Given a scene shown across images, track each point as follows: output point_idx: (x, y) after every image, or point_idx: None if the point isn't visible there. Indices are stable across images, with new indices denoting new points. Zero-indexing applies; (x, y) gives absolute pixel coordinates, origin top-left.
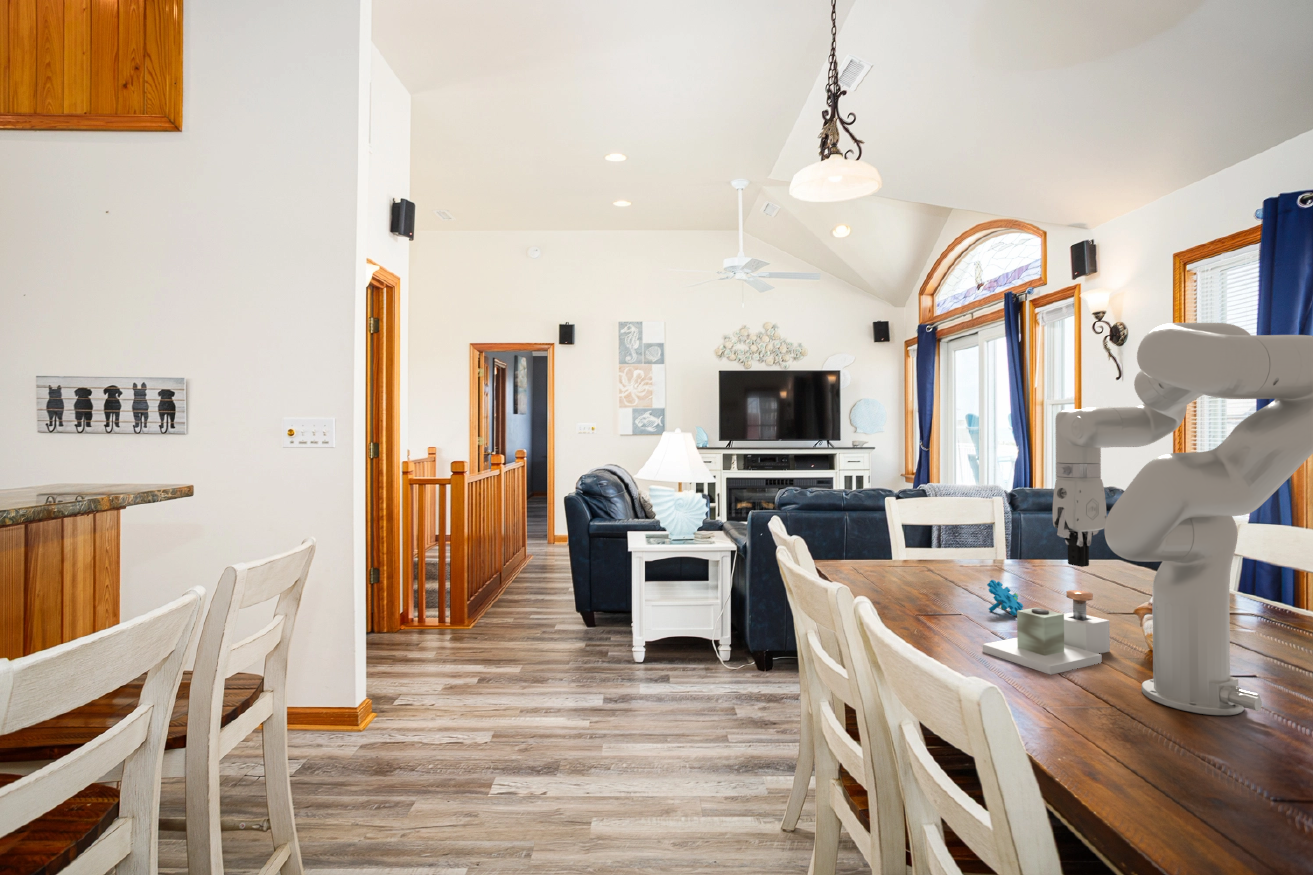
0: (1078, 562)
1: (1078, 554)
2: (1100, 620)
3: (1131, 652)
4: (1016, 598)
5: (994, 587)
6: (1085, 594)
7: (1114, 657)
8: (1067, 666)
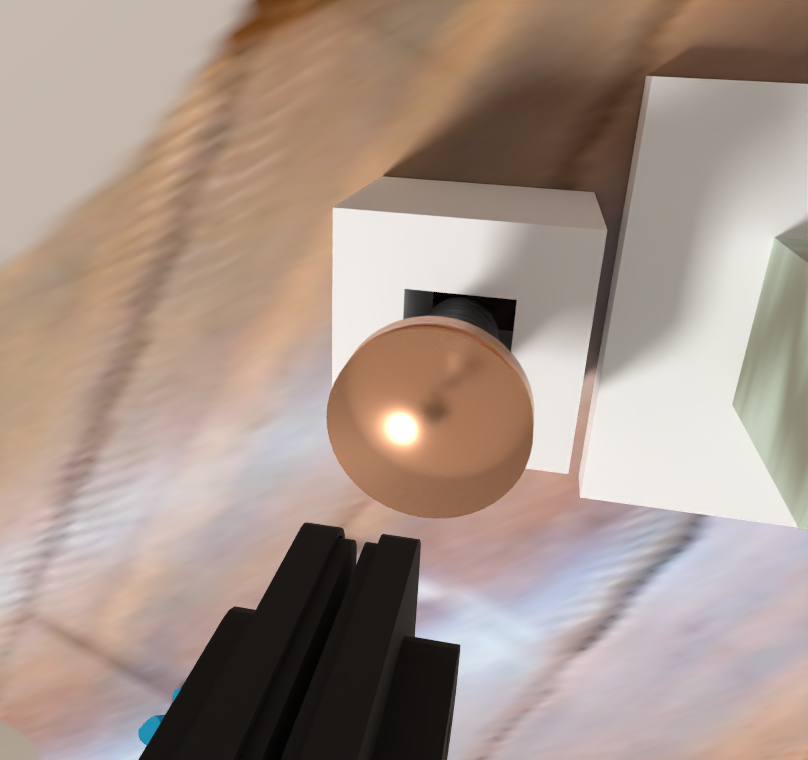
0: (408, 626)
1: (416, 719)
2: (391, 239)
3: (293, 102)
4: None
5: None
6: (446, 371)
7: (469, 99)
8: None
